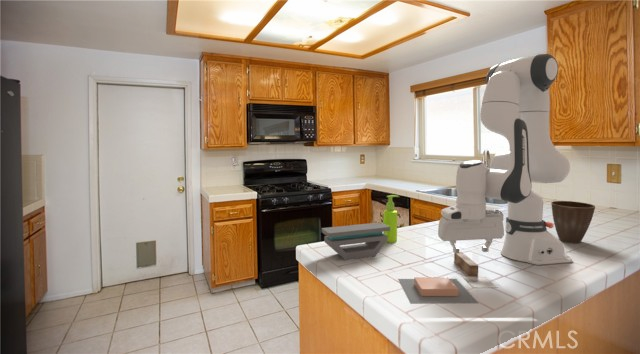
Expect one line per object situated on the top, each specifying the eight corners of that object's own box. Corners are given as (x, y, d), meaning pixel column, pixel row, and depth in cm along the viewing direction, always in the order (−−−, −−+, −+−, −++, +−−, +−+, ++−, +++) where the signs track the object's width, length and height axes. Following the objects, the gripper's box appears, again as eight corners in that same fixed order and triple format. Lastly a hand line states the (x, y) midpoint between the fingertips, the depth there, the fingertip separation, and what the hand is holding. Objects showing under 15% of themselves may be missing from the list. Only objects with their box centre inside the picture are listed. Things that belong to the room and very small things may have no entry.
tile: (448, 277, 101) (458, 289, 93) (447, 284, 101) (458, 296, 93) (414, 277, 101) (421, 289, 93) (414, 284, 101) (421, 296, 93)
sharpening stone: (379, 248, 137) (379, 222, 136) (389, 254, 130) (390, 226, 129) (321, 256, 129) (321, 228, 128) (329, 262, 122) (328, 233, 121)
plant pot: (599, 242, 141) (602, 205, 140) (581, 248, 134) (584, 208, 133) (560, 234, 155) (562, 199, 153) (541, 239, 148) (544, 203, 146)
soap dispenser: (401, 241, 147) (402, 195, 144) (388, 243, 144) (388, 196, 142) (393, 237, 152) (394, 193, 150) (380, 239, 149) (380, 194, 147)
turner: (447, 264, 119) (448, 252, 119) (467, 264, 119) (468, 251, 119) (473, 290, 98) (473, 275, 98) (497, 290, 98) (498, 275, 98)
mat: (456, 280, 105) (456, 278, 105) (479, 305, 89) (479, 303, 89) (397, 280, 105) (397, 278, 105) (410, 305, 90) (410, 303, 89)
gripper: (498, 207, 112) (497, 247, 114) (436, 210, 112) (436, 250, 114) (508, 211, 106) (507, 254, 108) (442, 214, 106) (443, 257, 108)
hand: (470, 252), depth 111 cm, fingers open, 8 cm apart
